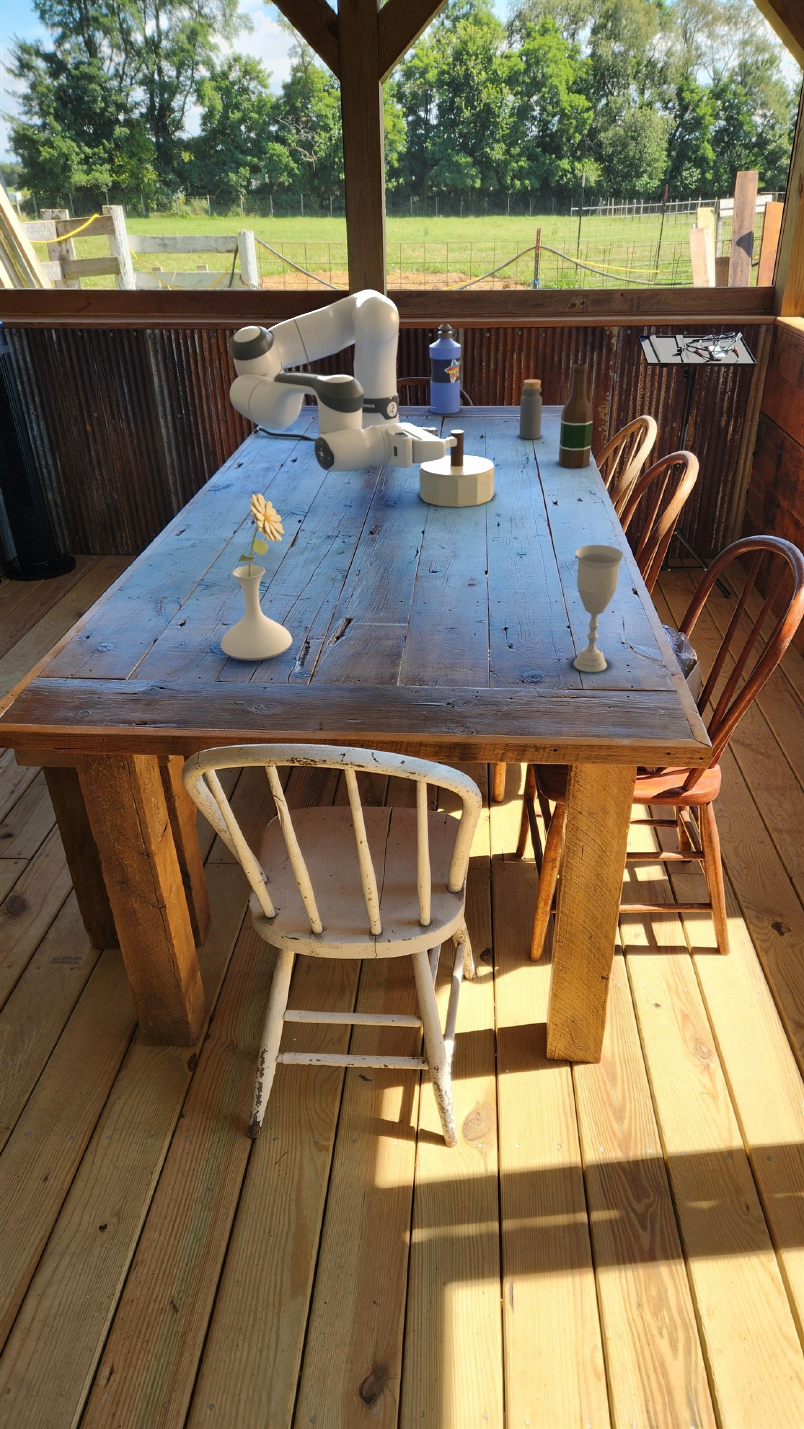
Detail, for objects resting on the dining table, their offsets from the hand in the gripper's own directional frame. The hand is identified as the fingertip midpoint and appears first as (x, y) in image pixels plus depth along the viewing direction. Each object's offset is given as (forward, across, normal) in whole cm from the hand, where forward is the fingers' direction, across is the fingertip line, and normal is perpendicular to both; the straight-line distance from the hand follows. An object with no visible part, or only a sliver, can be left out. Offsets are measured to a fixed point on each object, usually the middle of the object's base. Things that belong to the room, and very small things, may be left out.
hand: (445, 436), depth 215 cm
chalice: (-18, +85, -14) cm, 88 cm away
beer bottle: (+41, -9, -14) cm, 44 cm away
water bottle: (+39, -78, -14) cm, 89 cm away
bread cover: (+3, 0, -14) cm, 14 cm away
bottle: (+45, -38, -14) cm, 60 cm away
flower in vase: (-62, +57, -14) cm, 85 cm away
